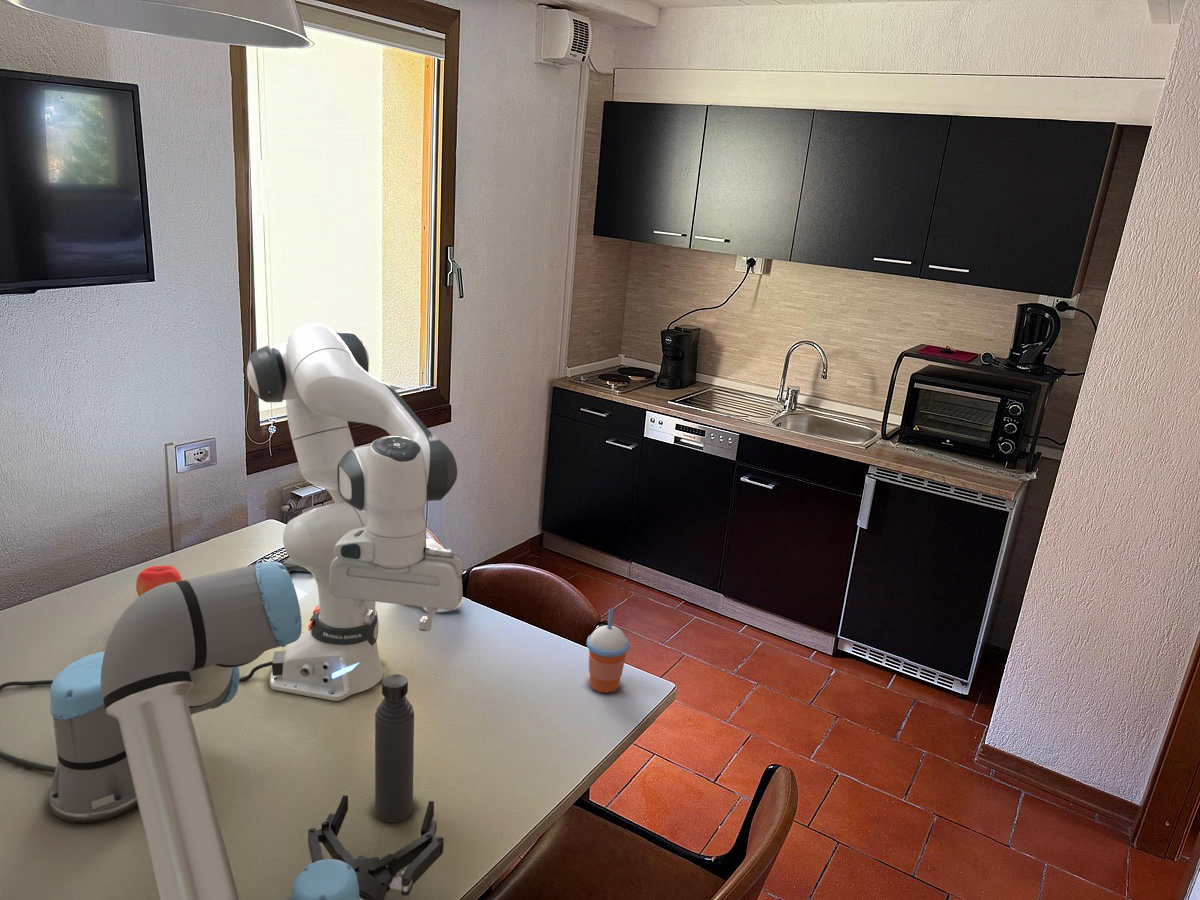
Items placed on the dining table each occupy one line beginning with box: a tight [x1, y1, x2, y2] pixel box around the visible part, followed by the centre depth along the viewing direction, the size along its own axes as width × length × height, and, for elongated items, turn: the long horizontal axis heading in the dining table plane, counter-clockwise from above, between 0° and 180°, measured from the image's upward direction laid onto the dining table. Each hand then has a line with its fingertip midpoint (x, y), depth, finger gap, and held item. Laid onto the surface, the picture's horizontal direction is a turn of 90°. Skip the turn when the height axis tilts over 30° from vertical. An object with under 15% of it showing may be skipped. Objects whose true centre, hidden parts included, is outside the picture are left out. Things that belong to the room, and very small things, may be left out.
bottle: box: [374, 695, 415, 823], centre depth 139 cm, size 6×6×24 cm
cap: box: [381, 673, 409, 699], centre depth 136 cm, size 4×4×2 cm
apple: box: [135, 564, 183, 598], centre depth 199 cm, size 10×10×10 cm
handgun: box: [281, 558, 311, 574], centre depth 220 cm, size 2×18×12 cm
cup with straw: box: [586, 608, 630, 694], centre depth 181 cm, size 9×9×18 cm
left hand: (388, 805), depth 136 cm, fingers open, 13 cm apart
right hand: (396, 626), depth 133 cm, fingers open, 8 cm apart
